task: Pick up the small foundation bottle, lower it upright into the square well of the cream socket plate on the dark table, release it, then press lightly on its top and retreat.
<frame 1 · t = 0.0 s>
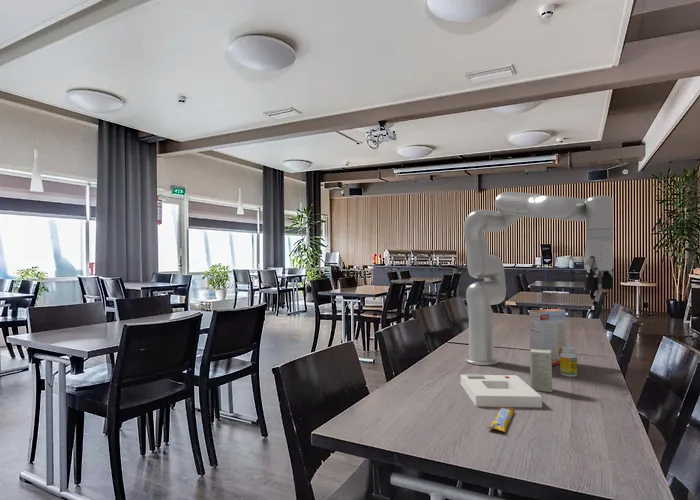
hand: (600, 289, 140), 31 cm above the table, tool pointing down, fingers open, 9 cm apart
skincare box: (541, 390, 139), on the table
supplement bottle: (568, 375, 156), on the table
socket plate: (497, 394, 134), on the table
cracker box: (548, 364, 172), on the table
candy bar: (501, 424, 112), on the table
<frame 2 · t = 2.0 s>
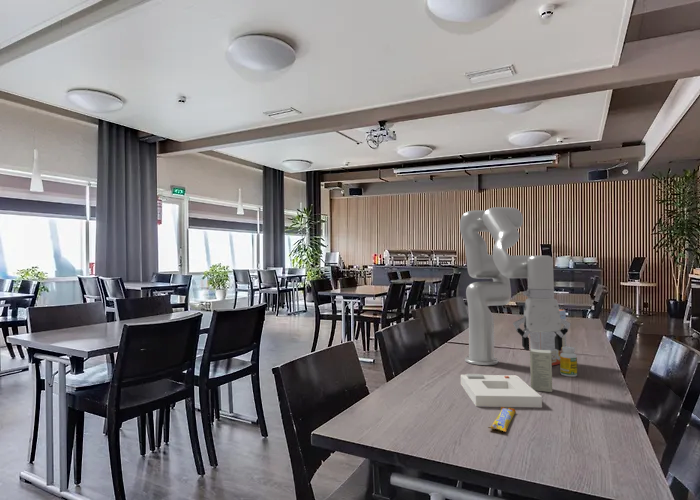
hand: (542, 349, 139), 13 cm above the table, tool pointing down, fingers open, 9 cm apart
nothing on the table moved.
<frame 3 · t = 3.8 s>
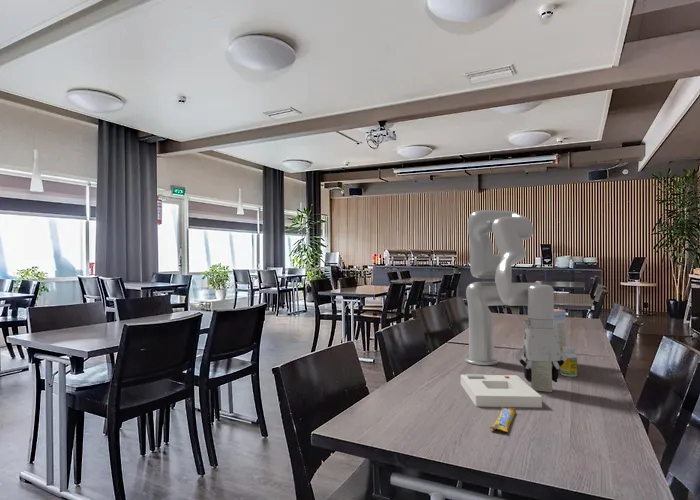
hand: (541, 380, 139), 3 cm above the table, tool pointing down, fingers closed on skincare box, 7 cm apart
skincare box: (541, 390, 139), on the table, touching gripper
everything else where it was.
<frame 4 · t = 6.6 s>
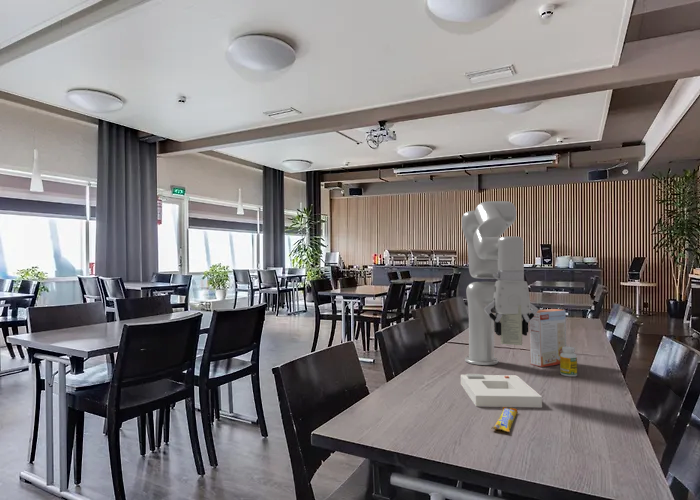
hand: (511, 334, 136), 18 cm above the table, tool pointing down, fingers closed on skincare box, 7 cm apart
skincare box: (511, 344, 136), point 15 cm above the table, touching gripper
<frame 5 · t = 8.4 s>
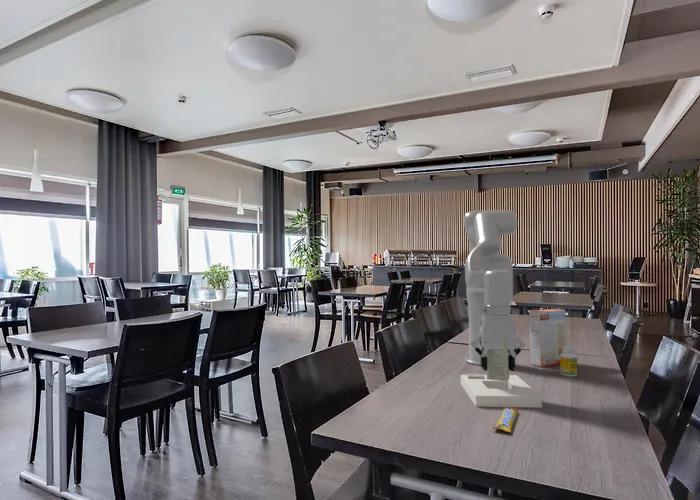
hand: (497, 369, 134), 8 cm above the table, tool pointing down, fingers closed on skincare box, 7 cm apart
skincare box: (497, 379, 134), point 5 cm above the table, touching gripper
when the fingers open (4 cm above the table, at t = 9.6 s): skincare box drops 1 cm, resting in socket plate.
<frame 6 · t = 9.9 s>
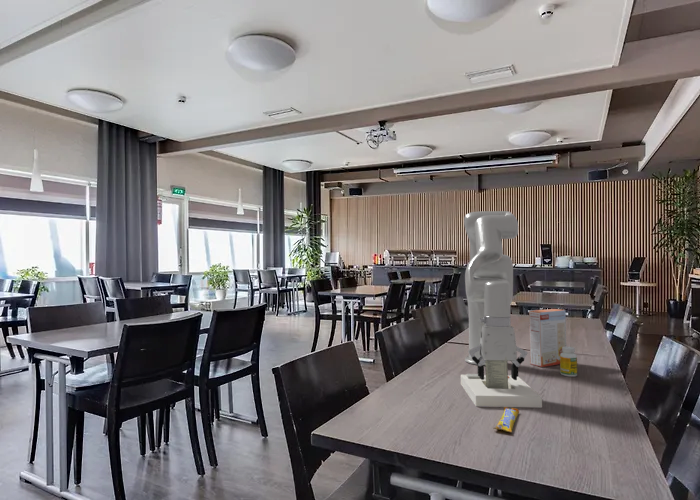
hand: (497, 378, 134), 5 cm above the table, tool pointing down, fingers open, 9 cm apart
skincare box: (496, 395, 134), resting in socket plate
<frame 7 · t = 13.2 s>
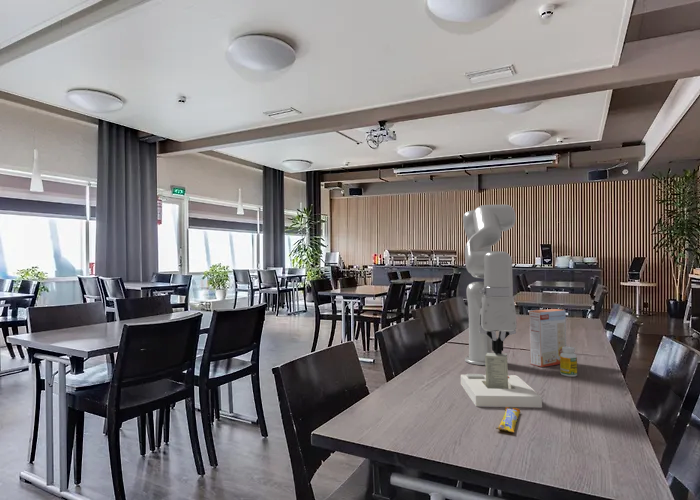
hand: (497, 353, 134), 12 cm above the table, tool pointing down, fingers closed
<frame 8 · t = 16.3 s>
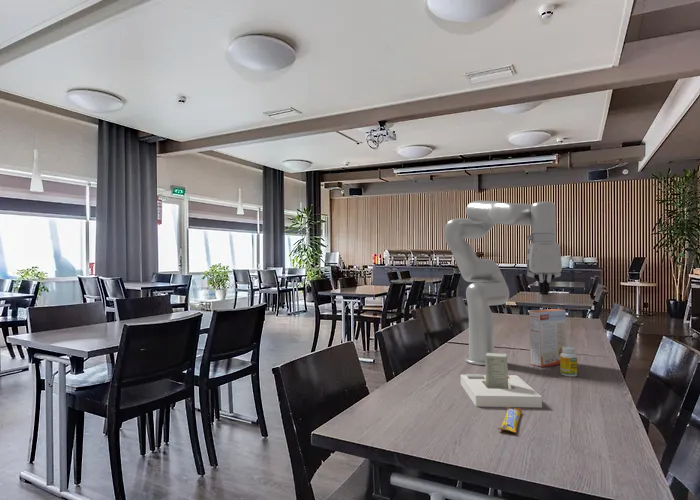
hand: (543, 294, 148), 29 cm above the table, tool pointing down, fingers closed
at the end: skincare box inside the target area on the socket plate (0.3 cm from its centre), point 0.0 cm above the socket plate's base; skincare box tilted 0°; the gripper is holding nothing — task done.
